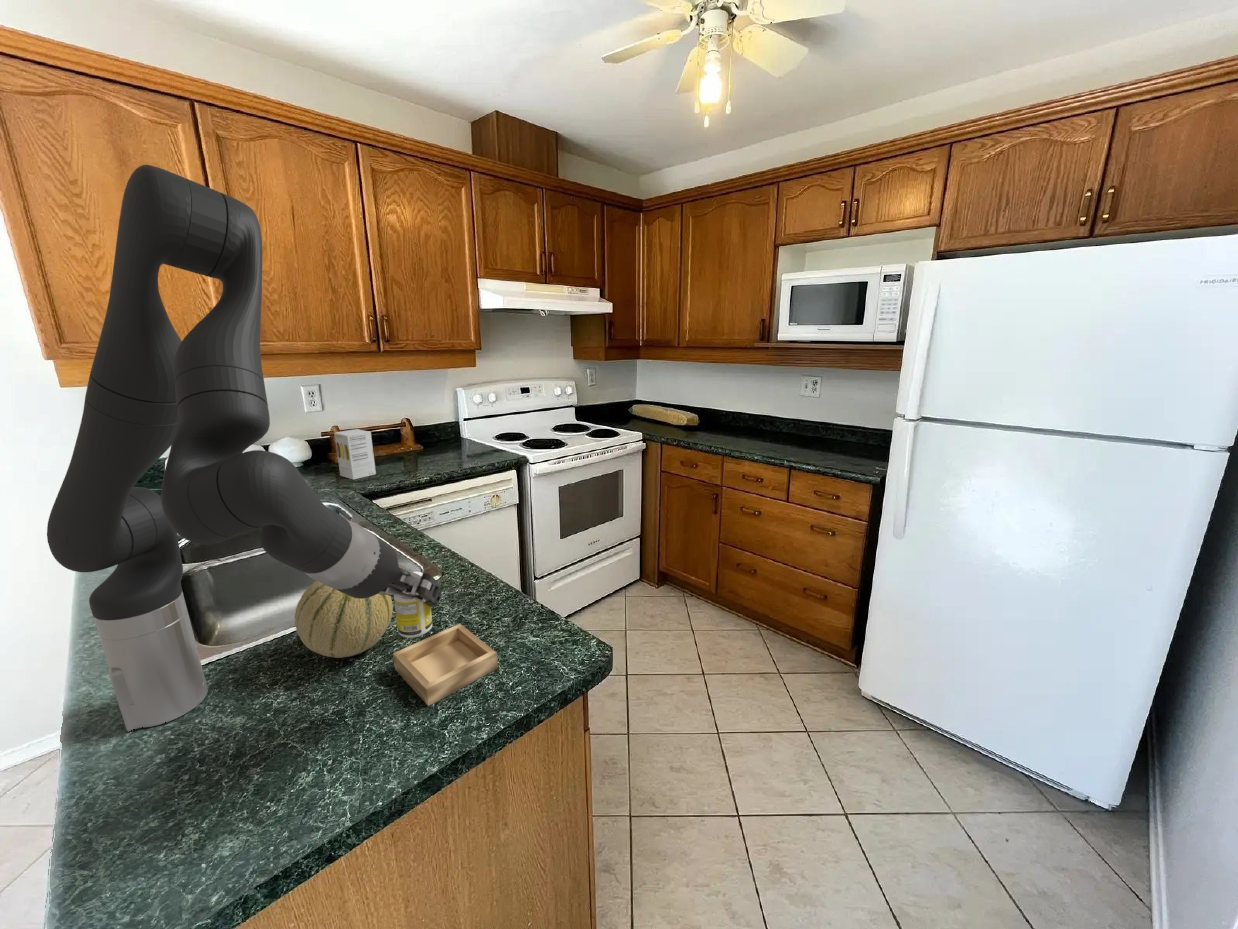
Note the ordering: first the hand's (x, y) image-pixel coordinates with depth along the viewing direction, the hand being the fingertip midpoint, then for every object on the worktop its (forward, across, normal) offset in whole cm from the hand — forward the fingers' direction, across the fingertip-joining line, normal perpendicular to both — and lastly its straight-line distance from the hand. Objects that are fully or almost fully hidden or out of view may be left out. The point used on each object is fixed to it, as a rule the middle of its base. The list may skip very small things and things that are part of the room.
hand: (421, 597), depth 75 cm
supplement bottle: (+2, 0, +4) cm, 5 cm away
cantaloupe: (+15, +19, +8) cm, 25 cm away
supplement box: (+78, +98, -54) cm, 137 cm away
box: (+14, 0, +8) cm, 16 cm away
